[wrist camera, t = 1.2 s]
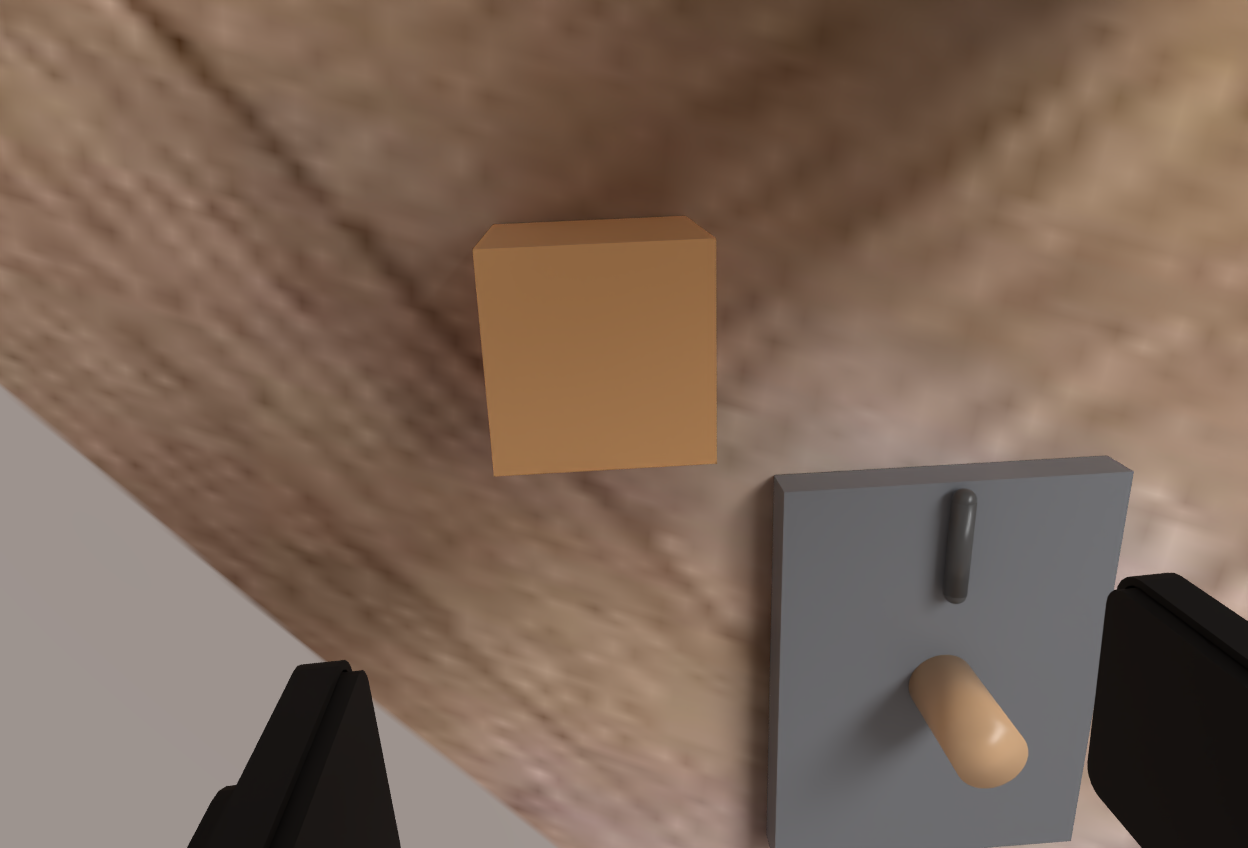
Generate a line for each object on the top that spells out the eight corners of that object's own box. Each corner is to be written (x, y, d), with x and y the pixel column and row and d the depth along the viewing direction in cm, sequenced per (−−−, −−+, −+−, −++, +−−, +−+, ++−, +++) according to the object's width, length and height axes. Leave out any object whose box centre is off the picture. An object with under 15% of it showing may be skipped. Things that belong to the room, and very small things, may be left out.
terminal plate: (774, 475, 30) (817, 547, 25) (1107, 455, 30) (1218, 522, 25) (766, 834, 35) (800, 957, 30) (1050, 812, 36) (1132, 929, 30)
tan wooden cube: (493, 224, 26) (472, 249, 21) (685, 215, 27) (716, 238, 21) (508, 407, 28) (493, 476, 23) (687, 398, 29) (716, 463, 23)
